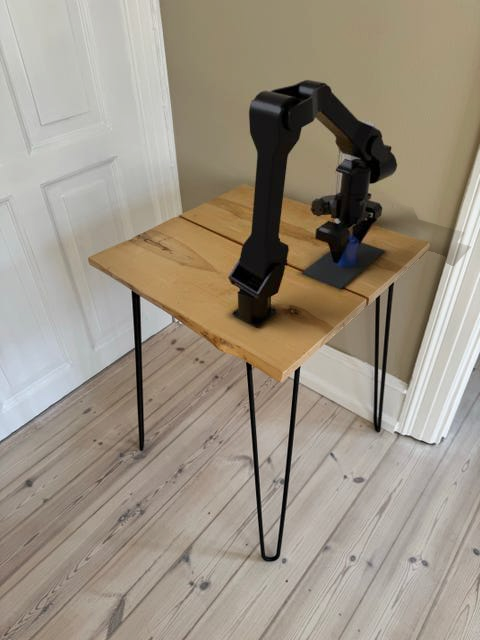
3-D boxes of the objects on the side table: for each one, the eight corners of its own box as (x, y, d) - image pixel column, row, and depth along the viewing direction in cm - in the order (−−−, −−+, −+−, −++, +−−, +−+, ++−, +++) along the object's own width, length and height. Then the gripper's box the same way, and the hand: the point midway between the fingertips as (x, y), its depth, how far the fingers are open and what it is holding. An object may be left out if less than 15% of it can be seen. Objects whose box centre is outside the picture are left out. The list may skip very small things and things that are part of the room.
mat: (340, 289, 98) (341, 287, 98) (301, 273, 103) (301, 272, 103) (384, 252, 110) (385, 250, 110) (347, 239, 115) (347, 237, 115)
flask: (348, 269, 104) (353, 237, 99) (328, 261, 106) (331, 230, 101) (360, 259, 107) (365, 228, 102) (340, 252, 109) (344, 221, 104)
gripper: (343, 168, 106) (336, 229, 115) (296, 194, 95) (292, 260, 104) (388, 179, 100) (377, 243, 109) (343, 209, 89) (335, 277, 98)
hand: (345, 255), depth 106 cm, fingers open, 8 cm apart
